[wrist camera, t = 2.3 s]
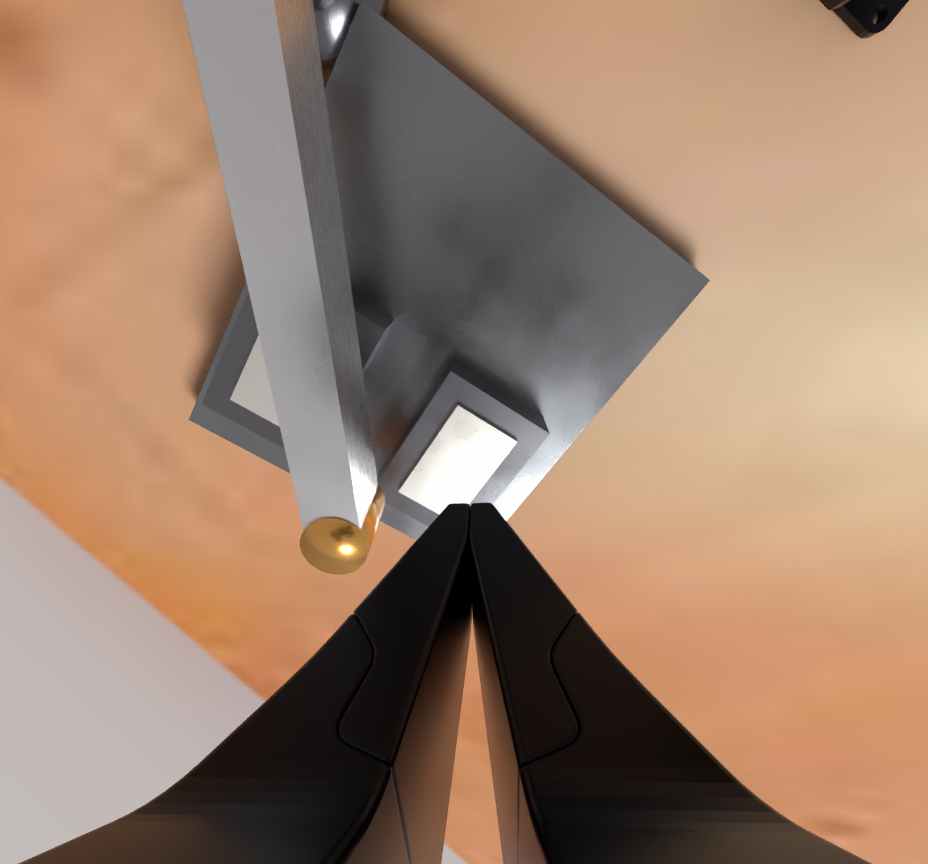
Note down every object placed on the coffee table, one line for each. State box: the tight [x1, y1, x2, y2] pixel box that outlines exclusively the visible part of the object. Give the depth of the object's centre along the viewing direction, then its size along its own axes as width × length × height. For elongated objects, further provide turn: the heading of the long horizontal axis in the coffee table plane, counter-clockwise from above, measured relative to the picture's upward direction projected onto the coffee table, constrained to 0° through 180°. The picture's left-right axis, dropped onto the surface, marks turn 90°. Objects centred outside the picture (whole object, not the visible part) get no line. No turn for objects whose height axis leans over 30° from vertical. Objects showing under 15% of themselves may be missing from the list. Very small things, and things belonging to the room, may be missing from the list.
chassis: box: [189, 0, 710, 540], centre depth 18 cm, size 18×16×3 cm
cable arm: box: [182, 0, 385, 574], centre depth 13 cm, size 18×2×3 cm, turn 2°
